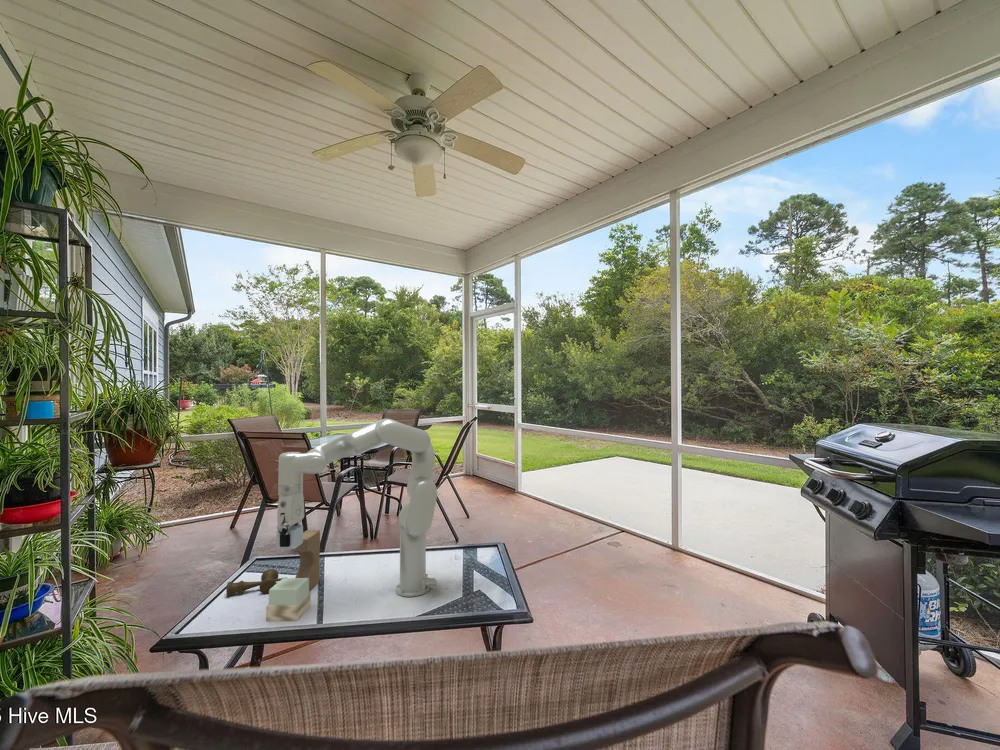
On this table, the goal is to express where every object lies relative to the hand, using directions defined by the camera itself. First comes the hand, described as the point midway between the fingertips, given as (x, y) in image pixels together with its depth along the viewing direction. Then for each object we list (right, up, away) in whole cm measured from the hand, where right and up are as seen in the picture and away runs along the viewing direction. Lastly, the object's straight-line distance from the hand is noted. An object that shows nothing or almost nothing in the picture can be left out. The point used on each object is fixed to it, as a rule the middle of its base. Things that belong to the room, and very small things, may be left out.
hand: (289, 542), depth 145 cm
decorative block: (-3, -24, +18) cm, 30 cm away
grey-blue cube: (0, -1, 0) cm, 1 cm away
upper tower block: (0, -19, -1) cm, 19 cm away
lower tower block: (0, -24, -1) cm, 24 cm away
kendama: (-20, -25, +16) cm, 35 cm away
